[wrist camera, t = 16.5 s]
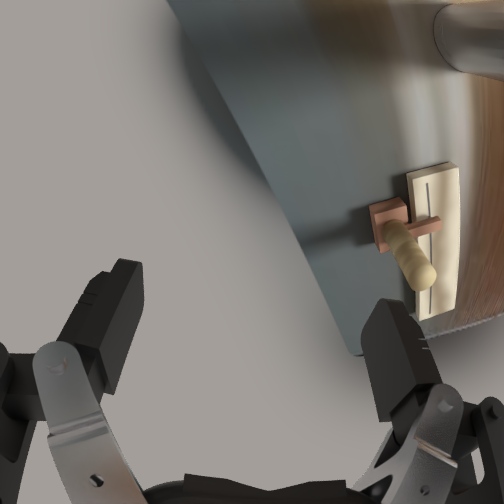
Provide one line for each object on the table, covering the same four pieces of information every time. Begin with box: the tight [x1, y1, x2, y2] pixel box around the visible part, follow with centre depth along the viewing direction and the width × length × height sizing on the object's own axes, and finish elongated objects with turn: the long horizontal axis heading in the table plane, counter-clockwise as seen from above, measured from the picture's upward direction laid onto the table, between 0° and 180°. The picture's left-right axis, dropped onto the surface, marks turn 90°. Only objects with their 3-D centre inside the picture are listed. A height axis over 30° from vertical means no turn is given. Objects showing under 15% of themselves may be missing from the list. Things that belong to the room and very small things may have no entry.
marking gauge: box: [369, 197, 442, 292], centre depth 34 cm, size 8×6×12 cm
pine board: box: [406, 162, 460, 321], centre depth 41 cm, size 7×26×2 cm, turn 20°
